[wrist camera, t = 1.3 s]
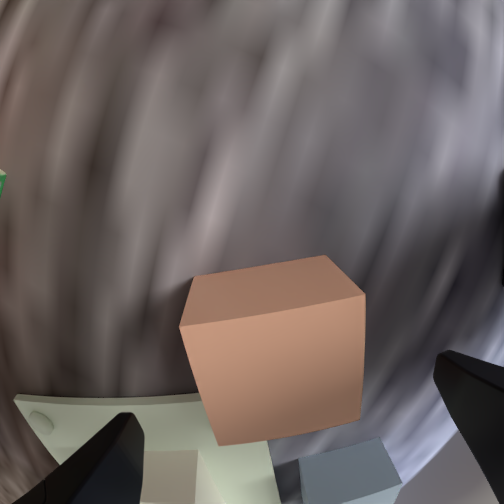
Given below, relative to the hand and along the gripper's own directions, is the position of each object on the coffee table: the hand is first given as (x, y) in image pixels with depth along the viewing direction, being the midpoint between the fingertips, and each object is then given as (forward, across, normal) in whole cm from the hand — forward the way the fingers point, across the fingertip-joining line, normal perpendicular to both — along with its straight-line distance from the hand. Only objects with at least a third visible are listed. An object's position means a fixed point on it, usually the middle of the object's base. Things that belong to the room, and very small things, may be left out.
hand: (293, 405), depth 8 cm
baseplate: (+5, +8, +10) cm, 14 cm away
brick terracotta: (+5, 0, 0) cm, 5 cm away
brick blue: (+5, -3, +12) cm, 13 cm away
